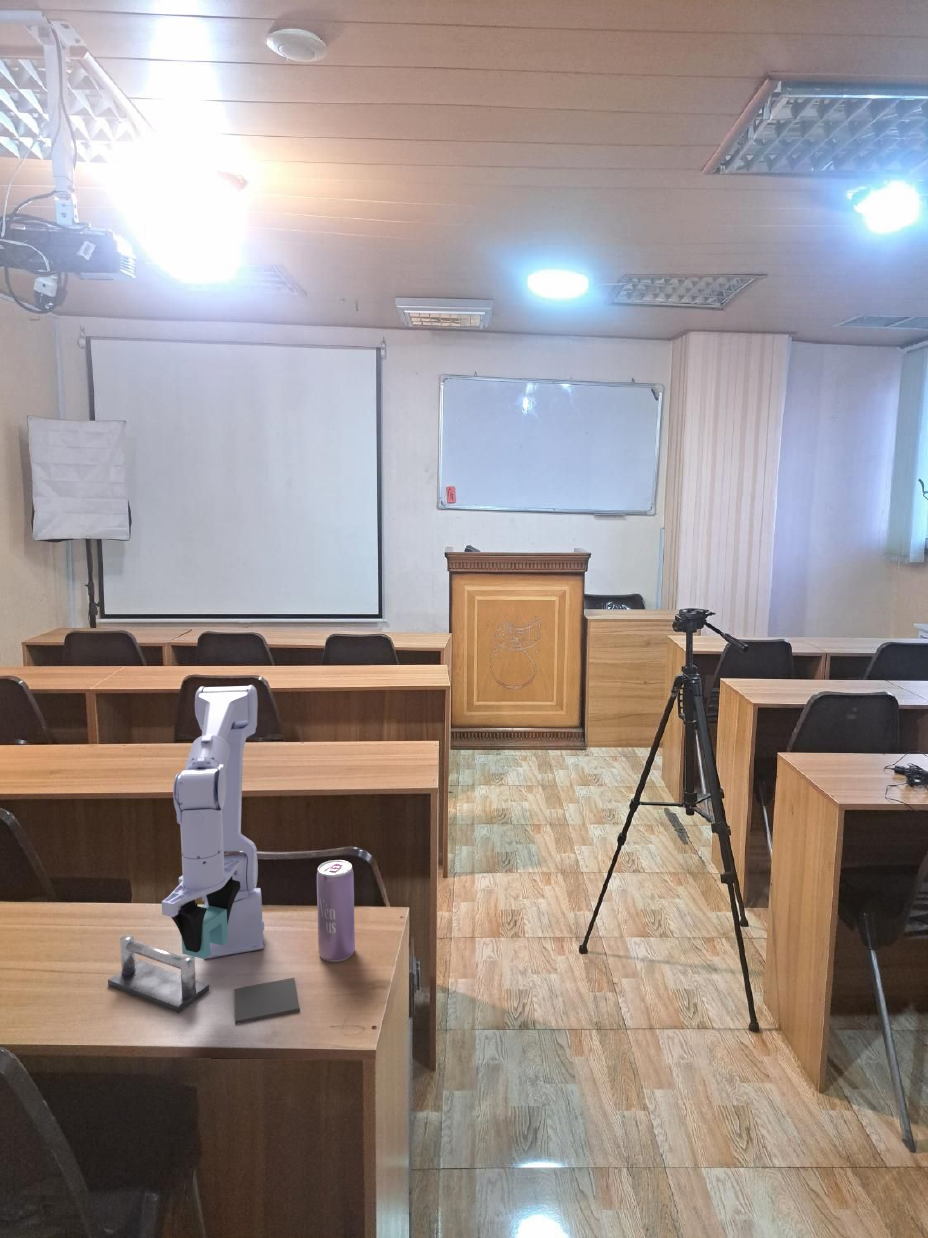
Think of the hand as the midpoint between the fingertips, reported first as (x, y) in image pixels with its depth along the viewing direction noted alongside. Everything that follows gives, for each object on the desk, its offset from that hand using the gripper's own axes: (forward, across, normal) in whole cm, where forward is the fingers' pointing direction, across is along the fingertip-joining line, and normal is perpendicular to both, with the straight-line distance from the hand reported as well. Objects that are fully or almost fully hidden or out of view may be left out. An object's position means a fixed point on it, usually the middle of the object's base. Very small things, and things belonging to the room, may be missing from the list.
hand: (206, 940), depth 108 cm
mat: (+10, -4, +7) cm, 13 cm away
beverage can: (+11, -19, +10) cm, 24 cm away
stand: (+10, -1, -10) cm, 15 cm away
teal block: (+1, 0, 0) cm, 1 cm away
